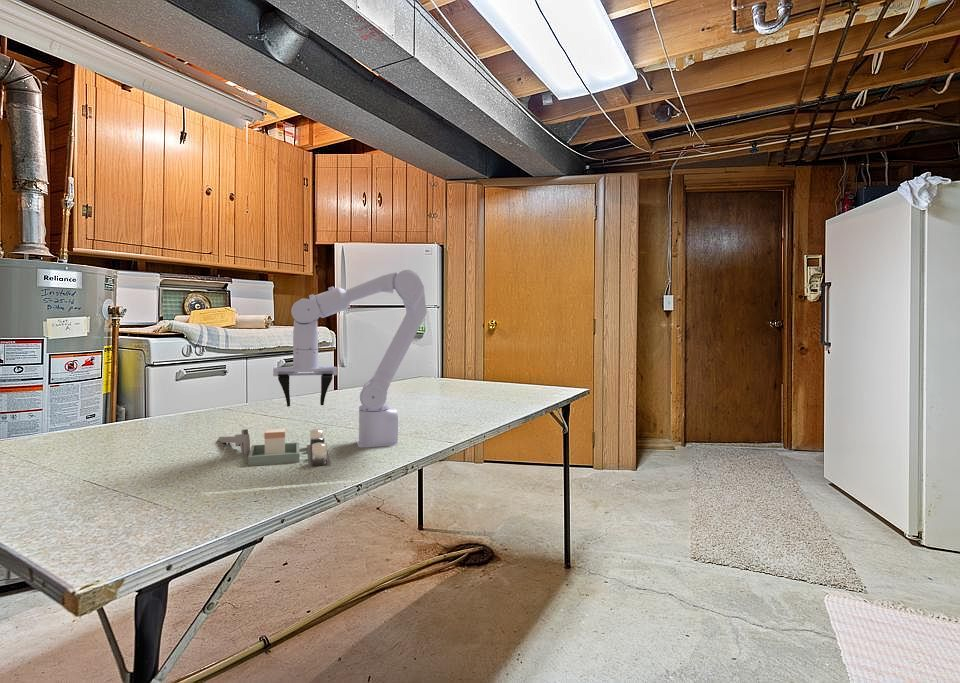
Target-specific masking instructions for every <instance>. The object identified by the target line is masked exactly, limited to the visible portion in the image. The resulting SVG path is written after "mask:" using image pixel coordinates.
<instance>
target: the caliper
mask: <svg viewBox="0 0 960 683" xmlns="http://www.w3.org/2000/svg"><path fill="white" fill-rule="evenodd" d="M240 430H241V432H240V433H239V434H234V435H227V436H226V435H223V436H218V439H217V441H218V442H219V441H220V442H219V443H221V444H223V443H224V444H225V443H228V444H229V443H230V444H232V443H233V444H234V445H235V447H240V452H241V454H242V455H244V456H249V453H250V450H251V441H250V440H251V439H250V434H249V429H248V428H247V429H240Z"/></svg>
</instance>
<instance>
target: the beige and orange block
mask: <svg viewBox="0 0 960 683" xmlns="http://www.w3.org/2000/svg"><path fill="white" fill-rule="evenodd" d="M263 436H264V438H263V439H264V445H265V455H273V454H285V443H286V427H279V428H278V427H275V428H265V430H264V435H263Z"/></svg>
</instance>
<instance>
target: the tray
mask: <svg viewBox="0 0 960 683" xmlns="http://www.w3.org/2000/svg"><path fill="white" fill-rule="evenodd" d="M300 454H301V453H300V442H285V454H273V455H265V444H254V445H252V444H251V446H250V453H249V455H247V456H248V457H247V458H248V460H247V461H248V462H247V465H248V466H249V467H251V466H261V465H262V466H263V465H275V464H276V465H277V464H287V463H289V464H290V463H291V464H292V463H300V458H301V457H300Z"/></svg>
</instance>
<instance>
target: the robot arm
mask: <svg viewBox="0 0 960 683" xmlns="http://www.w3.org/2000/svg"><path fill="white" fill-rule="evenodd" d="M327 289H328V290H327V291H324V292H320V293H318V294H315V295H314V294H309V295H308V296H309V298H300V299H299V300H297V301H296V302H294V303H293V305H292V307H291V309H290V310H291V316H292V318H293V319H294V320H293V330H292V342H293V344H292V346H293V347H292V349H293V350H292V356H293V357H292V361H293V363H292V364H293V365H292V366H285V367H284V366H283V367H282V366H281V367H280V366H279V367H273V369H272V376H273V377H277V378H278V379H277V380H278V382H279V385H280V386H281V388H282V390H283V394H284V397H285V401H286V407H287V408H289V407H291V395H290V393H291V392H290V377H291V376H292V377H293V376H294V377H296V376H298V377H299V376H320V388H321V389H320V403H319V404H320V406H324V405H325V399H326V395H327V393H328V389H329V387H330V385H331V383H332V380H333V376H337V375H338V367H337V366H319V330H318V320H319V318H322V319H324V318H326V317H329V316H333V315H335V314H338V313H340V312H344V311H347V310H348V309H349V306H350V304H351V303H352V302H355V301H358V300H360V299H364V298H366V297H369V296H372V295H375V294H378V293H389V294H394V290H395V291H396V293H397V294H398V296H399V297H400V299H401V300H402V303H403V305H404V308H405V311H406V313H405V315H404V317H403V319H402V321H401V323H400V325H399V326H398V329H397V330H396V332H395V334H394V336H393V338H392V340H391V342H390V344H389V346H388V347H387V349H386V351H385V353H384V355H383V357H382V359H381V361H380V362H379V365H378V366H377V368H376V370H375V372H374V374H373V376H372V378H370V380H368V381H367V382H366V383H364V385H363V386H362V388H361V391H360V393H359V401H360V403H361V405H359V406H358V438H356V439H355V442H356V444H357V446H358V448H374V447H389V446H398V445H399V442H398V441H399V436H398V435H399V415H398V414H399V413H398V411H397V408H395V407H391V408H389V405H388V404H387V403H386V402H387V398H388V397H387V395H388V389H389V387H390V385H391V383H392V381H393V379H394V378H395V377H394V376H395V375H396V373H397V371H398V369H399V367H400V366H401V363H402V361H403V359H404V357H405V356H406V353H407V351H408V350H409V348H410V346H411V345H412V342H413V340H414V338H415V337H416V335H417V333H418V331H419V329H420V328H421V325H422V323H423V322H424V319H425V317H426V316H427V304H426V296H425V295H426V294H425V285H424V284H423V281H422V279H421V278H420V276H419V275H418V273H417V272H415V271H414V270H411V269H403V270H401V271H399V272H392V273H391V272H390V273H388V274H383V275H380V276H377V277H375V278H373V279H370V280H367V281H365V282H362V283H360V284H358V285H355V286H353V287H350V288H348V289H344V288H342V287H339V286H337V287H334V286H330V287H328V288H327Z"/></svg>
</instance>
